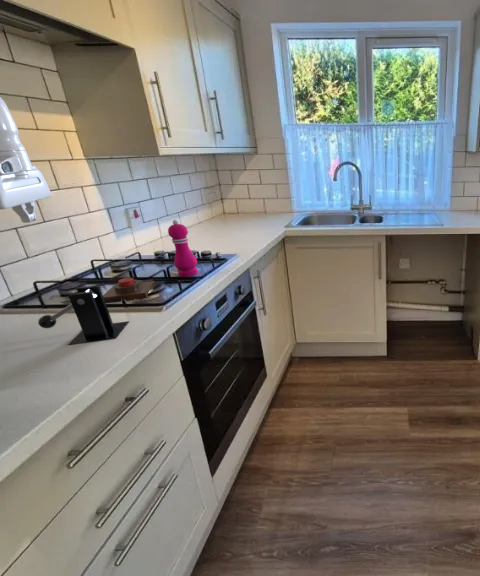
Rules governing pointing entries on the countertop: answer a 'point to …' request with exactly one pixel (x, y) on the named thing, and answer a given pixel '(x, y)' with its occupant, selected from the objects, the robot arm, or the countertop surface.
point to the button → (126, 282)
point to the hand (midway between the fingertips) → (30, 221)
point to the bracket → (93, 317)
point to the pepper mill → (182, 250)
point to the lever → (56, 315)
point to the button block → (128, 292)
